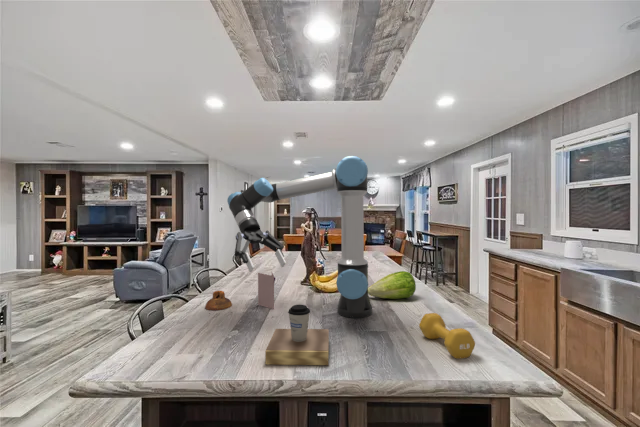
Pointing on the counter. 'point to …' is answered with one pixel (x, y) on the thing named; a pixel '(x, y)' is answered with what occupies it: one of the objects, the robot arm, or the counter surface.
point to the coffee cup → (299, 322)
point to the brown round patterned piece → (218, 302)
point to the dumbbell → (448, 336)
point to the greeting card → (266, 290)
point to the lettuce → (394, 286)
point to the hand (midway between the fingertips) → (268, 267)
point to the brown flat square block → (298, 348)
